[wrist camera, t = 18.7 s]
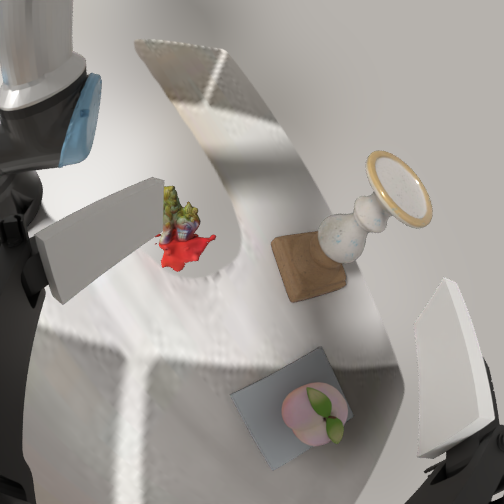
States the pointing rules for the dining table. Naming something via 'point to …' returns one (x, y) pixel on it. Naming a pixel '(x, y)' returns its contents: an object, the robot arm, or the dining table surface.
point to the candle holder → (351, 229)
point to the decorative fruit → (315, 413)
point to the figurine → (180, 232)
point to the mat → (270, 406)
